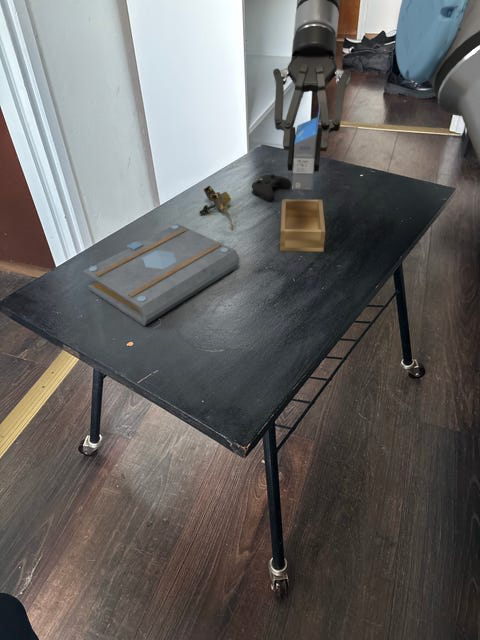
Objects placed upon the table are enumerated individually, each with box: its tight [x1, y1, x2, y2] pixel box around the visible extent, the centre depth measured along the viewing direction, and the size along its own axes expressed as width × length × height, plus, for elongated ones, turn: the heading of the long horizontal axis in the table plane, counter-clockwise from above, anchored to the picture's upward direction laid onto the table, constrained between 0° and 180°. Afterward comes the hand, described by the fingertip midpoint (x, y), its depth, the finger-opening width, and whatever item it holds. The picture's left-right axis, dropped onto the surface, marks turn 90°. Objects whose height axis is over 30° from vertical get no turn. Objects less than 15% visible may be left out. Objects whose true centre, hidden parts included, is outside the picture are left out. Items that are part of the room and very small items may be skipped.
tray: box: [279, 198, 326, 253], centre depth 93 cm, size 8×13×4 cm, turn 175°
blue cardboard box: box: [291, 105, 320, 192], centre depth 83 cm, size 9×4×12 cm, turn 171°
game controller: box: [251, 174, 292, 202], centre depth 109 cm, size 10×5×6 cm
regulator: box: [199, 185, 234, 231], centre depth 101 cm, size 8×4×15 cm
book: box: [82, 223, 240, 327], centre depth 82 cm, size 21×16×5 cm
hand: (303, 167), depth 81 cm, fingers closed on blue cardboard box, 4 cm apart
